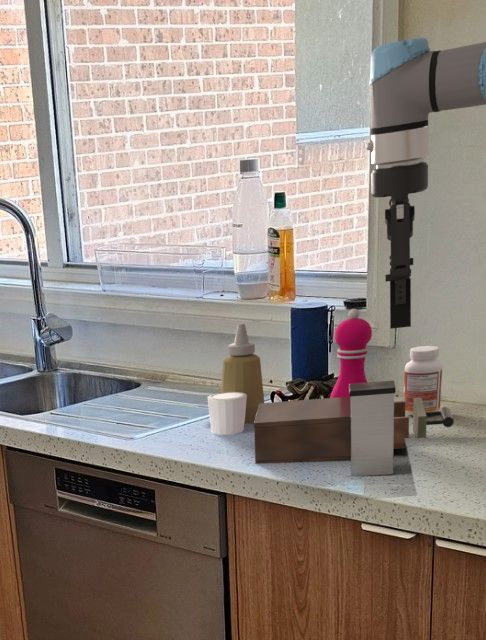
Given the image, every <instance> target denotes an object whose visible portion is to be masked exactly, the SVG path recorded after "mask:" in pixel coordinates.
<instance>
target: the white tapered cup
mask: <svg viewBox="0 0 486 640" xmlns="http://www.w3.org/2000/svg"><path fill="white" fill-rule="evenodd" d="M246 400H247V395H246V394H245V393H241V392H223V393H220V392H217V393H213V394H210V395H208V396H207V405H208V406H207V407H208V415H209V423H210V432H211V434H212V435H218V436H231V435H237V434H241V433H243V432H245V424H244V423H245V411H246Z"/></svg>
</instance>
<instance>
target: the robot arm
mask: <svg viewBox="0 0 486 640" xmlns="http://www.w3.org/2000/svg"><path fill="white" fill-rule="evenodd" d="M369 69H370V70H369V71H370V72H369V73H370V74H369V82H368V87H369V110H370V139H371V141H372V142H371V141H370V142H367V143H366V146H365V150H367V151H372V152H371V153H370V163H371V165H372V166H375V169H372V172H370V192H371V193H370V194H371V196H372V197H373V198H386V197H387V198H388V197H390V199H389V201H388V206H389V208H386V209H384V223H385V225H386V239H387V240H388V241H390V255H389V266H390V268H389V274H385V275H384V277H385V282H389V314H390V315H389V316H390V319H389V320H390V321H389V323H390V326H389V327H390V329H399V328H400V329H401V328H411V327H412V324H411V323H412V309H411V308H412V278H411V276H412V268H411V266H414V257H411V248H410V247H411V238H413V235H414V221H415V215H416V211H415V210H416V209H415V205H411V203H410V198H409V194H417V193H422V192H425V191H426V190H427V189H428V188H429V164H428V163H427V162H426V161H425V159H426V158H427V157H428V156H429V154H430V153H429V152H430V151H429V150H430V149H429V148H430V147H429V146H430V145H429V144H430V143H429V141H430V135H429V133H430V132H429V130H430V128H429V114H431V113H438V112H442V111H443V112H444V111H450V110H459V109H465V108H472V107H479V106H485V105H486V41H484V42H478V43H473V44H467V45H463V46H459V47H453V48H448V49H443V50H431V48H430V46H429V40H428V39H427V37H416V38H415V37H414V38H409V39H405V40H398V41H393V42H392V41H391V42H388V43H383V44H380V45H378V46H376V47H375V48H374V49H373V50H372V51H371V54H370V68H369Z"/></svg>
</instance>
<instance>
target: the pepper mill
mask: <svg viewBox="0 0 486 640" xmlns="http://www.w3.org/2000/svg"><path fill="white" fill-rule="evenodd" d="M347 315H348V318H347V319H344V320H342V321H341V322H340V323H339V324H338V325H337V326H336V328H335V330H334V341H335V343H336V344H337V346H338V347H339V348H337V349H336V352H337V355H336V357H337V358H338V359H339V374H338V378H337V380H336V383H335V384H334V387H333V389H332V391H331V393H330V397H329V398H338V397H351V396H349V384H354V383H367V382H368V380H367V376H366V373H365V361H366V357H368V356H369V353H368V350H369V347H367V345H368V344H369V342H371V339H372V337H373V330H372V326H371V324H370V323H369V322H368V321H367V320H365V319H363V318H359V317H360V311H359V309H358V308H351V309H350V310H349V312H348V314H347Z"/></svg>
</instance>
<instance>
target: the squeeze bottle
mask: <svg viewBox="0 0 486 640" xmlns="http://www.w3.org/2000/svg"><path fill="white" fill-rule="evenodd" d="M246 327H247V326H246V323H245V322H240V323H237V327H236V333H235V336H234V337H235V338H234V341H233V343H230V344H229V345H227V347H228V351H227V353H228V355H227V356H226V357H225V358H224V359H223V361H222V370H221V371H222V372H221V383H220V392H219V393H223V392H241V393H245V394H246V395H247V400H246V411H245V423H244V425H249V424H254V422H255V418H256V414H257V410H258V406H259V403H265V395H264V394H265V393H264V385H263V374H262V364H261V357H260V356H258V355H257V354H255V352H256V350H255V349H256V344H255V342H251V341H250V340H249V335H248V332H247V328H246Z"/></svg>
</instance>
